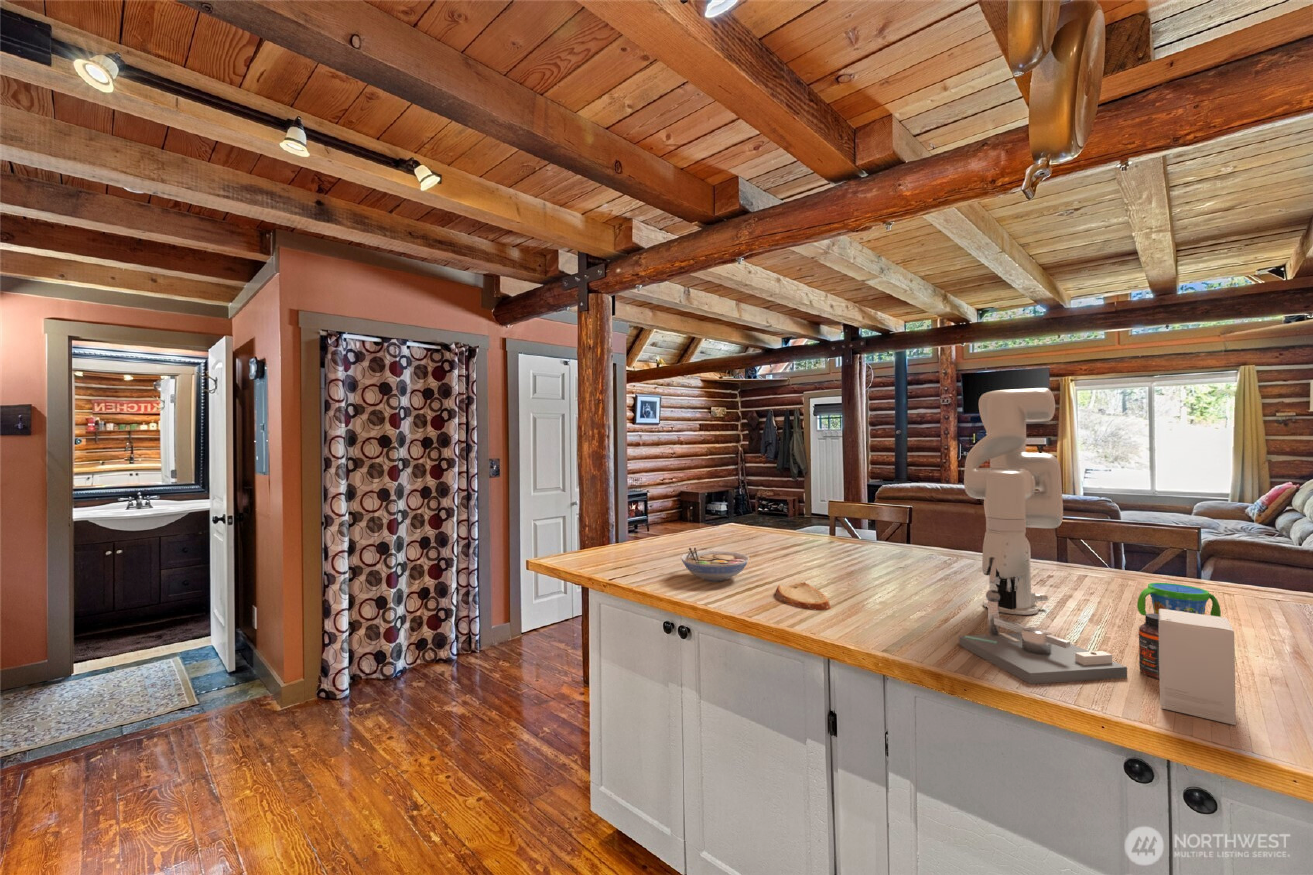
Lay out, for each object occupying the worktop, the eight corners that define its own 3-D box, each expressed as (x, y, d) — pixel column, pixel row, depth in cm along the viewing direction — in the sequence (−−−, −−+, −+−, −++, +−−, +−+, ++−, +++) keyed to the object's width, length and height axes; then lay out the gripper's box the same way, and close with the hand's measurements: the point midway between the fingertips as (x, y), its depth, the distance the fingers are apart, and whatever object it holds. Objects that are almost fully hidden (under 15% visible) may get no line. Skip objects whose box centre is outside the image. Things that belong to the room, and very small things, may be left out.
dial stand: (1041, 640, 124) (1041, 623, 124) (1127, 677, 104) (1126, 656, 105) (959, 645, 122) (958, 627, 122) (1030, 684, 102) (1030, 662, 102)
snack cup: (1205, 627, 132) (1204, 584, 132) (1236, 642, 122) (1235, 596, 122) (1126, 621, 137) (1125, 580, 137) (1150, 635, 127) (1149, 591, 127)
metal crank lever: (1077, 659, 108) (1076, 609, 108) (1058, 662, 106) (1057, 612, 106) (997, 629, 125) (996, 587, 125) (979, 632, 123) (978, 589, 124)
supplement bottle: (1131, 670, 108) (1129, 611, 108) (1158, 668, 109) (1157, 610, 109) (1161, 683, 102) (1160, 621, 102) (1190, 681, 103) (1189, 620, 103)
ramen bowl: (755, 588, 171) (755, 562, 171) (682, 589, 172) (681, 562, 172) (744, 570, 196) (743, 547, 196) (679, 570, 197) (679, 547, 197)
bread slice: (828, 613, 147) (828, 599, 147) (763, 604, 156) (763, 591, 156) (842, 596, 163) (842, 584, 163) (782, 589, 172) (782, 577, 172)
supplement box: (1238, 727, 86) (1235, 631, 86) (1160, 709, 92) (1158, 619, 92) (1231, 706, 93) (1229, 617, 93) (1159, 690, 99) (1157, 607, 99)
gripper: (1008, 521, 131) (1009, 598, 131) (968, 526, 124) (970, 608, 124) (1042, 525, 124) (1044, 607, 124) (1002, 530, 117) (1004, 617, 117)
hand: (1007, 607), depth 124 cm, fingers closed
